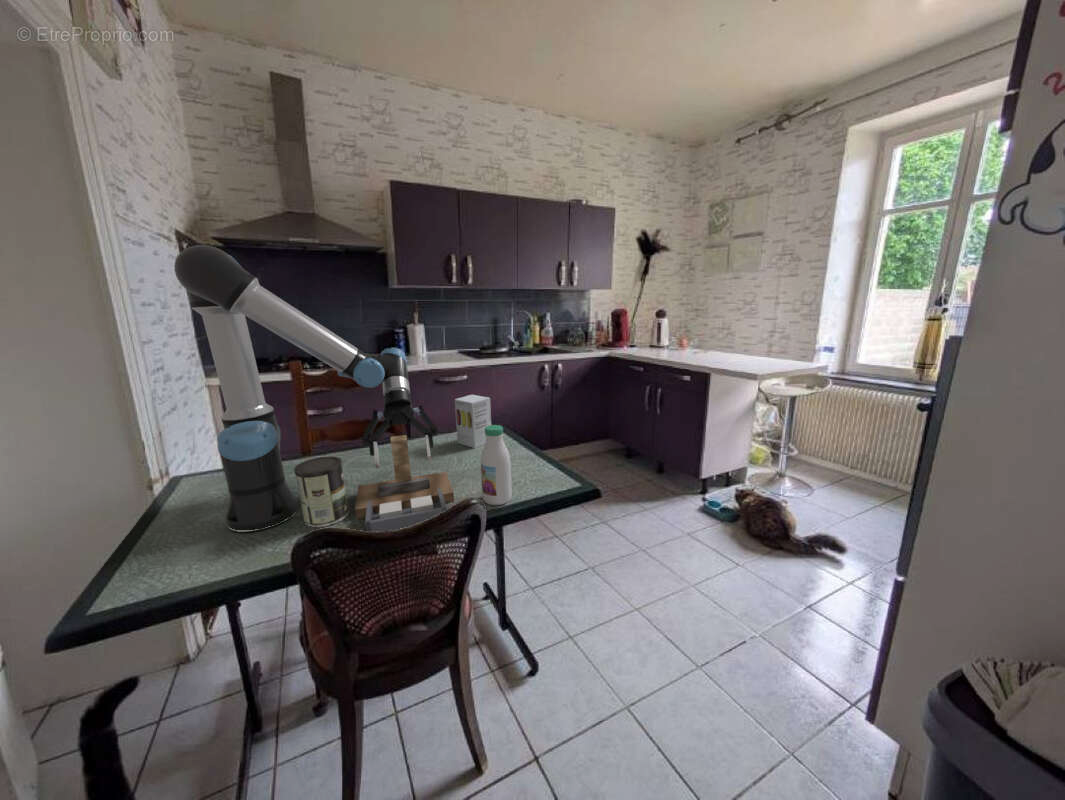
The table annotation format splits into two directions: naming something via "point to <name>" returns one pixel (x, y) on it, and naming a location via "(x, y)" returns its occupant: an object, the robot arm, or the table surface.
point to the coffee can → (322, 491)
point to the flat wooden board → (371, 493)
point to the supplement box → (472, 419)
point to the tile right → (421, 504)
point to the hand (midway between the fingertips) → (403, 462)
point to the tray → (402, 516)
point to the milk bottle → (495, 468)
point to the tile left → (390, 509)
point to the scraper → (402, 471)
